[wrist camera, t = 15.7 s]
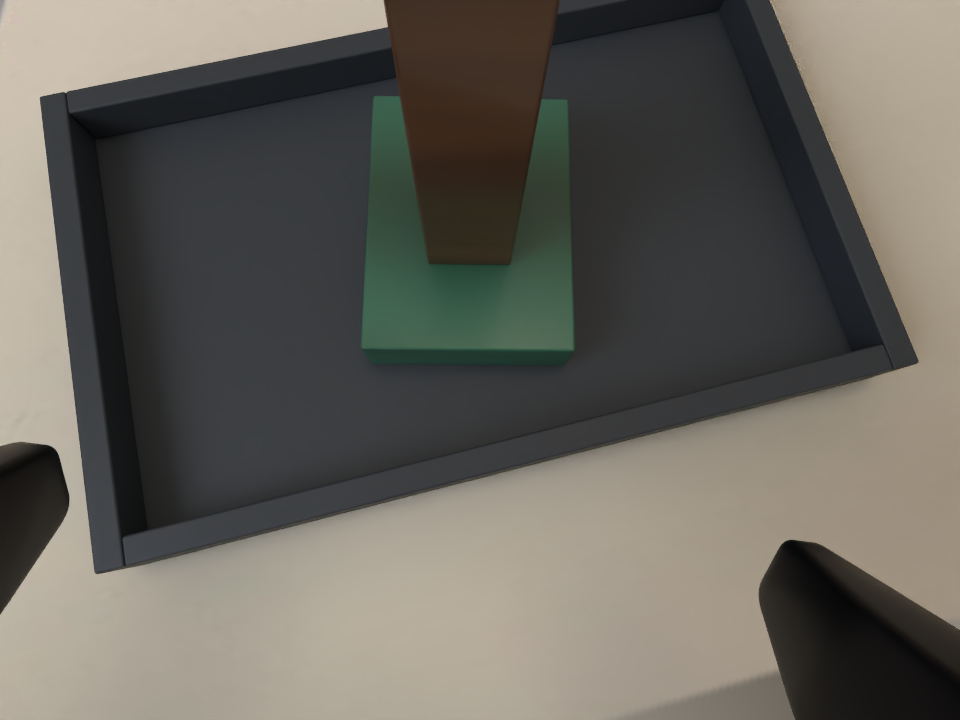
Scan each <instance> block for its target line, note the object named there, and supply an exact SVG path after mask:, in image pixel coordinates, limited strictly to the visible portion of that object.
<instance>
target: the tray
mask: <svg viewBox="0 0 960 720" xmlns="http://www.w3.org/2000/svg"><path fill="white" fill-rule="evenodd" d="M374 96H400V95H399V89H398V83H397V77H396V71H395V65H394V59H393V53H392V47H391V41H390V36H389V30H388V27H387V28H382V29H377V30H372V31H367V32H362V33H357V34H352V35H347V36H342V37H337V38H332V39H327V40H322V41H317V42H312V43H308V44H303V45H298V46H293V47H288V48H283V49H278V50H273V51H268V52H263V53H258V54H253V55H248V56H243V57H238V58H233V59H228V60H223V61H218V62H213V63H208V64H203V65H198V66H193V67H188V68H183V69H178V70H173V71H168V72H163V73H158V74H153V75H148V76H143V77H138V78H133V79H128V80H123V81H118V82H113V83H108V84H103V85H98V86H93V87H88V88H83V89H78V90H73V91H68V92H67V93H64V92H62V93H57V94H52V95H47V96H42V97H40V103H41V112H42V121H43V129H44V138H45V147H46V155H47V164H48V173H49V181H50V190H51V198H52V207H53V216H54V224H55V233H56V242H57V250H58V259H59V268H60V276H61V285H62V294H63V302H64V311H65V320H66V328H67V337H68V346H69V354H70V363H71V372H72V380H73V389H74V397H75V406H76V415H77V423H78V432H79V441H80V449H81V458H82V467H83V475H84V484H85V493H86V501H87V510H88V519H89V527H90V536H91V545H92V553H93V562H94V571H95V573H96V574H100V573H105V572H110V571H115V570H120V569H125V568H130V567H135V566H140V565H144V564H148V563H152V562H155V561H159V560H163V559H167V558H171V557H175V556H179V555H183V554H187V553H190V552H194V551H198V550H202V549H206V548H210V547H214V546H218V545H222V544H225V543H229V542H233V541H237V540H241V539H245V538H249V537H253V536H257V535H260V534H264V533H268V532H272V531H276V530H280V529H284V528H288V527H292V526H295V525H299V524H303V523H307V522H311V521H315V520H319V519H323V518H326V517H330V516H334V515H338V514H342V513H346V512H350V511H354V510H358V509H361V508H365V507H369V506H373V505H377V504H381V503H385V502H389V501H393V500H396V499H400V498H404V497H408V496H412V495H416V494H420V493H424V492H428V491H431V490H435V489H439V488H443V487H447V486H451V485H455V484H459V483H463V482H466V481H470V480H474V479H478V478H482V477H486V476H490V475H494V474H498V473H501V472H505V471H509V470H513V469H517V468H521V467H525V466H529V465H533V464H536V463H540V462H544V461H548V460H552V459H556V458H560V457H564V456H568V455H571V454H575V453H579V452H583V451H587V450H591V449H595V448H599V447H603V446H606V445H610V444H614V443H618V442H622V441H626V440H630V439H634V438H638V437H641V436H645V435H649V434H653V433H657V432H661V431H665V430H669V429H673V428H676V427H680V426H684V425H688V424H692V423H696V422H700V421H704V420H708V419H711V418H715V417H719V416H723V415H727V414H731V413H735V412H739V411H743V410H746V409H750V408H754V407H758V406H762V405H766V404H770V403H774V402H778V401H781V400H785V399H789V398H793V397H797V396H801V395H805V394H809V393H813V392H816V391H820V390H824V389H828V388H832V387H836V386H840V385H844V384H848V383H851V382H855V381H859V380H863V379H867V378H871V377H874V376H877V375H881V374H884V373H887V372H891V371H894V370H897V369H901V368H904V367H907V366H911V365H914V364H917V363H918V359H917V356H916V354H915V352H914V349H913V347H912V344H911V342H910V339H909V337H908V335H907V332H906V330H905V327H904V325H903V323H902V320H901V318H900V315H899V313H898V310H897V308H896V306H895V303H894V301H893V298H892V296H891V293H890V291H889V289H888V286H887V284H886V281H885V279H884V276H883V274H882V272H881V269H880V267H879V264H878V262H877V260H876V257H875V255H874V252H873V250H872V247H871V245H870V243H869V240H868V238H867V235H866V233H865V230H864V228H863V226H862V223H861V221H860V218H859V216H858V214H857V211H856V209H855V206H854V204H853V201H852V199H851V197H850V194H849V192H848V189H847V187H846V184H845V182H844V180H843V177H842V175H841V172H840V170H839V168H838V165H837V163H836V160H835V158H834V155H833V153H832V151H831V148H830V146H829V143H828V141H827V138H826V136H825V134H824V131H823V129H822V126H821V124H820V121H819V119H818V117H817V114H816V112H815V109H814V107H813V105H812V102H811V100H810V97H809V95H808V92H807V90H806V88H805V85H804V83H803V80H802V78H801V75H800V73H799V71H798V68H797V66H796V63H795V61H794V59H793V56H792V54H791V51H790V49H789V46H788V44H787V42H786V39H785V37H784V34H783V32H782V29H781V27H780V25H779V22H778V20H777V17H776V15H775V12H774V10H773V8H772V5H771V3H770V0H560V3H559V9H558V14H557V19H556V25H555V30H554V35H553V41H552V46H551V52H550V57H549V62H548V68H547V73H546V78H545V84H544V89H543V94H542V99H566V100H568V109H569V144H570V180H571V216H572V252H573V288H574V323H575V351H574V353H573V354H572V355H571V357H570V358H569V359H568V361H567V362H566V364H565V365H563V366H535V365H439V364H373V363H371V362H370V360H369V359H368V357H367V356H366V355H365V353H364V352H363V350H362V349H361V333H362V313H363V293H364V272H365V252H366V232H367V212H368V192H369V171H370V151H371V131H372V111H373V98H374Z"/></svg>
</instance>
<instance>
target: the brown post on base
mask: <svg viewBox="0 0 960 720" xmlns="http://www.w3.org/2000/svg"><path fill="white" fill-rule="evenodd" d="M559 3H560V0H384V6H385V12H386V18H387V24H388V30H389V36H390V41H391V47H392V53H393V59H394V65H395V71H396V77H397V83H398V89H399V95H400V96H374V98H373V111H372V131H371V151H370V171H369V192H368V212H367V232H366V252H365V272H364V293H363V313H362V333H361V349H362V350H363V352H364V353H365V355H366V356H367V357H368V359H369V360H370V362H371V363H373V364H439V365H535V366H563V365H565V364H566V362H567V361H568V359H569V358H570V357H571V355H572V354H573V353H574V351H575V323H574V288H573V252H572V216H571V180H570V144H569V109H568V100H566V99H542V94H543V89H544V84H545V78H546V73H547V68H548V62H549V57H550V52H551V46H552V41H553V35H554V30H555V25H556V19H557V14H558V9H559Z"/></svg>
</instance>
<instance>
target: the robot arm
mask: <svg viewBox="0 0 960 720" xmlns="http://www.w3.org/2000/svg"><path fill="white" fill-rule="evenodd" d="M68 507H69V493H68V489H67V485H66V482H65V478H64V474H63V470H62V466H61V462H60V458H59V455H58V453H57V451H56V450H55V449H54V448H53V447H51V446H48V445H41V444H34V443H26V442H16V443H11V444H7V445H3V446H0V614H1V613H2V611H3V610H4V608H5V607H6V606H7V604H8V603H9V601H10V600H11V598H12V597H13V595H14V594H15V592H16V591H17V589H18V588H19V586H20V585H21V583H22V582H23V580H24V579H25V577H26V576H27V574H28V573H29V571H30V570H31V568H32V567H33V565H34V564H35V562H36V561H37V559H38V558H39V556H40V555H41V553H42V552H43V550H44V549H45V547H46V546H47V544H48V543H49V541H50V540H51V538H52V537H53V535H54V534H55V532H56V531H57V529H58V528H59V526H60V525H61V523H62V522H63V520H64V518H65V516H66V514H67V511H68ZM759 603H760V607H761V611H762V614H763V617H764V621H765V624H766V627H767V631H768V634H769V637H770V641H771V644H772V647H773V651H774V654H775V657H776V661H777V664H778V667H779V671H780V674H781V677H782V681H783V684H784V687H785V691H786V694H787V697H788V700H789V703H790V706H791V709H792V712H793V715H794V717H795V720H960V630H959V629H957V628H955V627H954V626H952V625H951V624H949V623H947V622H946V621H944V620H943V619H941V618H939V617H938V616H936V615H934V614H933V613H931V612H930V611H928V610H926V609H925V608H923V607H921V606H920V605H918V604H917V603H915V602H913V601H912V600H910V599H908V598H907V597H905V596H904V595H902V594H900V593H899V592H897V591H895V590H894V589H892V588H891V587H889V586H887V585H886V584H884V583H882V582H881V581H879V580H878V579H876V578H874V577H873V576H871V575H869V574H868V573H866V572H865V571H863V570H861V569H860V568H858V567H856V566H855V565H853V564H852V563H850V562H848V561H847V560H845V559H843V558H842V557H840V556H839V555H837V554H835V553H834V552H832V551H830V550H829V549H827V548H826V547H824V546H822V545H820V544H817V543H813V542H805V541H797V540H788V541H785V542H784V543H783V544H781V546H780V547H779V549H778V551H777V553H776V555H775V557H774V558H773V560H772V562H771V564H770V566H769V568H768V570H767V571H766V573H765V575H764V577H763V579H762V581H761V583H760V588H759Z"/></svg>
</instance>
